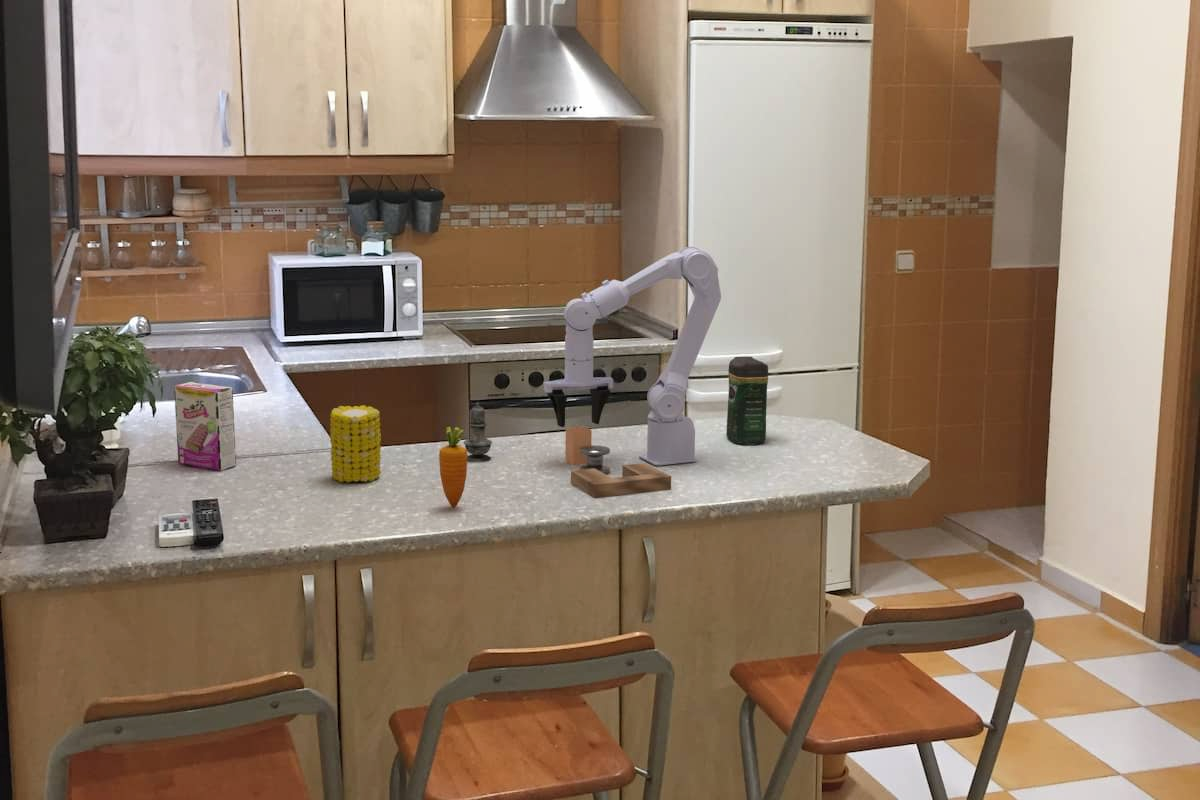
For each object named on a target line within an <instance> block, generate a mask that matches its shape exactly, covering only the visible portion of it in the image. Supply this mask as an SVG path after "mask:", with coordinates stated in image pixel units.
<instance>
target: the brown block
mask: <svg viewBox="0 0 1200 800" xmlns="http://www.w3.org/2000/svg"><path fill="white" fill-rule="evenodd" d="M591 445H592V429H590V428H588V427H586V426H583V425H582V426H573V427H572V426H571V427H565V462H566V461H567V462H566V463H568V462H569V463H568V464H570V465H571V464H572V465H571V466H573V465H574V466H582V465H581V464H584V465H587V455H585V454H581V453H580V448H581V447H584V446H591Z"/></svg>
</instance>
